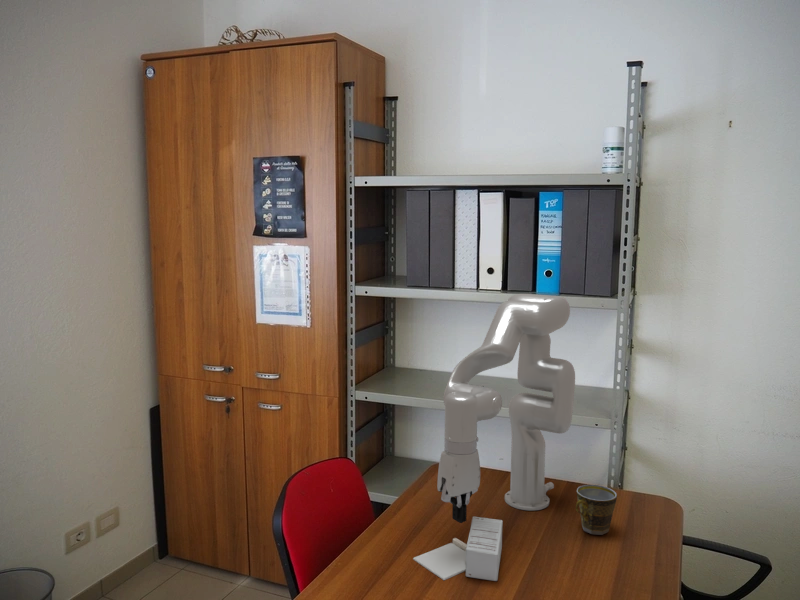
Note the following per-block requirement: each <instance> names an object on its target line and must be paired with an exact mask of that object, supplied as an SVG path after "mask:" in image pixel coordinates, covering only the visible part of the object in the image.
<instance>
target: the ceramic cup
mask: <svg viewBox="0 0 800 600" xmlns="http://www.w3.org/2000/svg"><path fill="white" fill-rule="evenodd" d="M576 496H577V497H576V498H577V502H576V503H575V510H576V512H577V513H578V514H580V521H581V526H582V529H583V532H585V533H589V534H590V535H599V536H603V535H604V534H607V533H609V531H610V527H611V523H612V520H613V514H614V511H615V508H616V503H617V497H618V495H617V492H616V491H615V490H613V489H611V488H609V487H607V486H604V485H599V484H583V485H580V486H578V487H577V488H576Z"/></svg>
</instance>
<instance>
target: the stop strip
mask: <svg viewBox="0 0 800 600" xmlns="http://www.w3.org/2000/svg"><path fill="white" fill-rule="evenodd" d="M452 544H454V545H456V546H457V547H459V548H461V549H462V550H464V551H466V546H467V543H466V542H463V541H462V540H460V539H458V538H457V537H454V538H452Z"/></svg>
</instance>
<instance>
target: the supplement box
mask: <svg viewBox="0 0 800 600" xmlns="http://www.w3.org/2000/svg"><path fill="white" fill-rule="evenodd" d="M503 522H504V521H503V520H502V519H498V518H497V519H495V518H488V517H483V516H482V517H481V516H480V517H479V516H472V519H471V523H470V528H469V529H470V530H469V532H468V539H467V542H466V544H467V546H466V571H465V577H468V578H473V579H480V580H486V581H491V582H492V581H493V582H497V581H498V579H499V569H500V565H501V564H500V562H501V557H502V556H501V555H502V550H503V549H502V547H503Z"/></svg>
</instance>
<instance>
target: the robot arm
mask: <svg viewBox="0 0 800 600" xmlns="http://www.w3.org/2000/svg"><path fill="white" fill-rule="evenodd" d="M570 314H571V308H570V303H569V302H568V300H567V299H566V298H564V297H562V296H560V295H548V294H547V295H546V294H536V293H535V294H534V293H515V294H512V295H510V297H509V298H508V300H505V301H504V302H502V303H500V304H499V306H498V308H496V312H495V314H494V316H493V318H492V321H491V323H490V325H489V327H488V330H487V332H486V335H485V337H484V339H483V342H482V344H481V345H480V346H479V347H478V348H477V349H475V350H473V351H472V352H470V353H469V354H467V356H465V357H464V358H462V359H461V360H460V361H459V362H458V363H457V364H456V365H455V367H454V368H453V370H452V372H451V374H450V376H449V379H448V381H447V383H446V387H445V389H444V393H443V404H444V442H443V444H444V450H443V451H441V452H440V453H441V454H440V457H439V463H438V472H437V491H438V492H440V493H441V497H440V499H441V500H440V501H442V502H444V503H450V504H451V505H452V507H451V508H452V510H451V511H452V513H451V514H452V516H451V517H452V519H453V521H456V522H458V524H463V523H465V522H467V516H468V515H467V507H468V505H469V504H470V500H471V497H472V496H473V495H474V494H475V493H477V492H478V490H479V487H480V484H481V463H480V455H479V450H478V447H477V446H478V444H477V443H478V442H479V437H478V422H480V421H488V420H491V419H493V418H496V416H497V415H498V414H499V413H500V412H501V410H502V407H503V399H502V394H500V392H499V391H498V390H496V389H494V388H492V387H485V386H480V385H477V384H470V383H469V382H470V381H471V380H472V379H473V378H474V377H475V376H477V375H478V374H480V373H482V372H485V371H488V370H491V369H494V368H497V367H498V368H499V367H502V366H505V365H507V364H510V363H511V362H512V361H513V360H514V358H515V356H516V353H517V350H518V348H519V350H518V360H517V373H516V374H517V382H518V384H519V385H520V386H521V387H524V388H526V389H530V390H535V391H542V392H548V393H552V395H553V396H546V395H541V394H536V393H529V392H520V393H517V394H514V395H513V396H512V397H511V398H510V401H509V404H508V416H509V423H510V431H511V433H510V434H511V447H510V448H511V450H510V484H509V485H510V487H509V489H510V490H508V491H507V492H506V493H505V494H504V501H505V503H506V504H507V505H508V506H510V507H512V508H515V509H517V510H521V511H530V512H531V511H541V510H544V509H546V508H548V507H549V505H550V498H549V496H548V495H547V492H548V491H550V490H552V489H554V488H555V484H554V483H553V482H552V481H549V482H547V483H545V478H546V477H545V475H546V469H545V467H546V439H545V437H544V434H543V433H542V431H543V432H546V433H553V434H565V433H567V432H568V431H569V430H570V427H571V423H572V420H573V411H574V399H575V388H576V387H575V386H576V371H575V368H574V366H573V364H572V362H570V361H569V360H567V359H563V358H557V357H551V341H552V340H551V337H550V334H552V333H555V332H556V331H557V330H560V329H561V328H563V327H564V326H565V325H566V324H567V323H568V321H569V318H570Z"/></svg>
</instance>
